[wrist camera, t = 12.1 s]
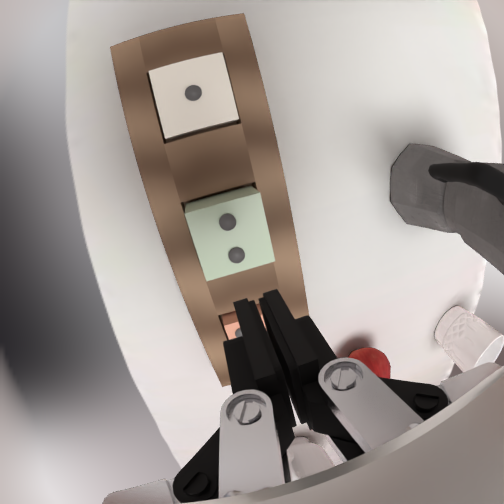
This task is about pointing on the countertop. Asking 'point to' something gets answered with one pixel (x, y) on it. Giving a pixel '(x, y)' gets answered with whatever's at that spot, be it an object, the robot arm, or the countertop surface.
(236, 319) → the button three
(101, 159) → the countertop surface
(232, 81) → the button panel
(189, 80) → the button one
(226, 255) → the button two
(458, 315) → the white cup
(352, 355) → the pomegranate
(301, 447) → the teacup
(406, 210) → the coffeepot
